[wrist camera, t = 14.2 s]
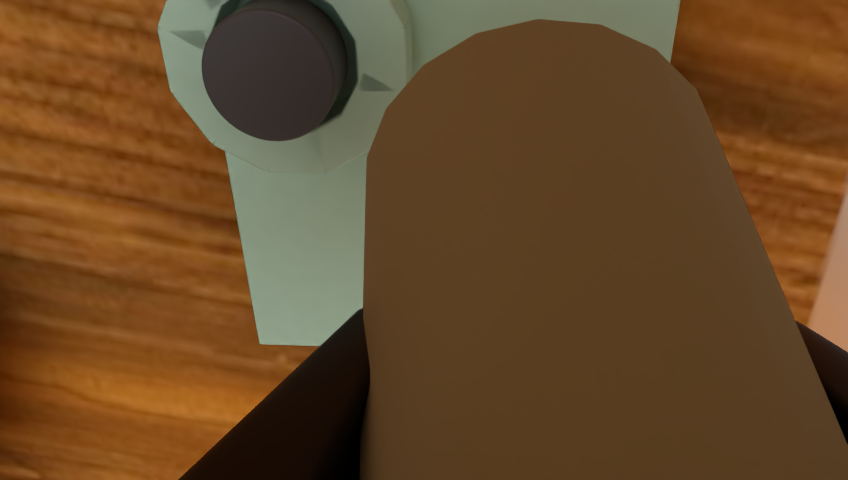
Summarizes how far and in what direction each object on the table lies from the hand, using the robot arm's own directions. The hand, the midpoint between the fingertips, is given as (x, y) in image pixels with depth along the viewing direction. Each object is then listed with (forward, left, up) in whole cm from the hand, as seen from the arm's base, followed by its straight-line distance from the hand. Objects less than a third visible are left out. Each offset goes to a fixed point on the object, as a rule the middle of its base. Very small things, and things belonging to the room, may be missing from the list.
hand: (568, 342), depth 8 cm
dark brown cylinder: (+6, -1, -10) cm, 11 cm away
